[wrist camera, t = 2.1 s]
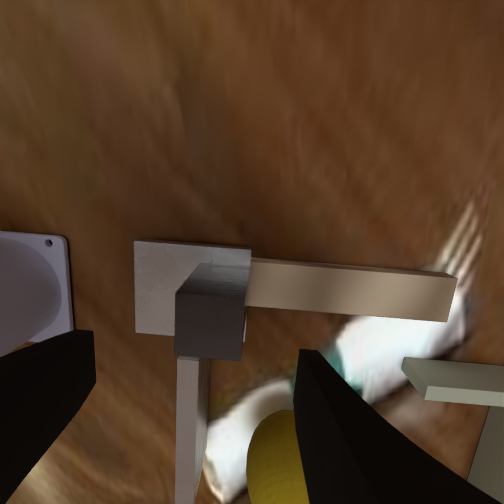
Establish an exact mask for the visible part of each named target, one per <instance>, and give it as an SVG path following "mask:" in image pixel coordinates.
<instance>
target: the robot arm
mask: <svg viewBox="0 0 504 504" xmlns="http://www.w3.org/2000/svg"><path fill="white" fill-rule="evenodd" d="M49 240H51V241H52V243H53V244H52V245H51V244H50V243H49ZM27 341H29V342H38V343H36V344H33V345H30V346H28V347H25V348H23V349H20V350H17V351H15V352H12V353H10V352H11V351H13V350H14V349H16V348H17V347H19V346H20V345H22V344H23V343H25V342H27ZM8 353H10V354H8ZM95 383H96V369H95V352H94V335H93V331H89V330H77V329H76V330H74V328H73V315H72V302H71V289H70V276H69V262H68V249H67V241H66V239H65V238H64V237H62V236H59V235H48V234H35V233H23V232H10V231H0V504H6V502H7V501H8V499H9V498H10V497H11V495H12V494H13V493H14V491H15V490H16V489H17V487H18V486H19V485H20V483H21V482H22V481H23V479H24V478H25V477H26V476H27V475H28V473H29V472H30V471H31V470H32V468H33V467H34V466H35V465H36V463H37V462H38V461H39V460H40V458H41V457H42V456H43V455H44V453H45V452H46V451H47V450H48V448H49V447H50V446H51V445H52V444H53V442H54V441H55V440H56V439H57V437H58V436H59V435H60V434H61V432H62V431H63V430H64V429H65V427H66V426H67V425H68V423H69V422H70V421H71V420H72V418H73V417H74V416H75V415H76V413H77V412H78V411H79V409H80V408H81V406H82V405H83V403H84V401H85V400H86V398H87V397H88V395H89V393H90V392H91V390H92V388H93V387H94V385H95ZM293 404H294V417H295V429H296V435H297V441H298V446H299V452H300V457H301V462H302V467H303V473H304V478H305V483H306V488H307V493H308V499H309V504H502V503H501V502H499V501H497V500H496V499H494V498H493V497H491V496H489V495H488V494H486V493H485V492H483V491H481V490H480V489H478V488H477V487H475V486H474V485H472V484H471V483H469V482H468V481H466V480H465V479H463V478H462V477H460V476H459V475H457V474H456V473H454V472H453V471H451V470H450V469H449V468H447V467H446V466H444V465H443V464H442V463H440V462H439V461H437V460H436V459H435V458H433V457H432V456H430V455H429V454H428V453H426V452H425V451H424V450H422V449H421V448H420V447H418V446H417V445H416V444H414V443H413V442H412V441H410V440H409V439H408V438H407V437H406V436H404V435H403V434H402V433H401V432H399V431H398V430H397V429H396V428H395V427H393V426H392V425H391V424H390V423H388V422H387V421H386V420H385V419H384V418H383V417H382V416H380V415H379V414H378V413H377V412H376V411H375V410H374V409H373V408H372V407H371V406H370V405H369V404H368V403H366V402H365V401H364V400H363V399H362V398H361V397H360V396H359V395H358V394H357V393H356V392H355V391H354V390H353V389H352V388H351V387H350V386H349V385H348V384H347V382H346V381H345V380H344V379H343V378H342V377H341V376H340V375H339V374H338V373H337V372H336V371H335V369H334V368H333V367H332V366H331V365H330V364H329V363H328V362H327V360H326V359H325V358H324V357H323V356H322V355H321V354H320V353H319V352H318V351H317V350H307V349H300V350H299V358H298V366H297V374H296V382H295V390H294V398H293Z"/></svg>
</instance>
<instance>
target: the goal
mask: <svg viewBox="0 0 504 504" xmlns="http://www.w3.org/2000/svg"><path fill="white" fill-rule="evenodd" d="M401 370H402V371H403V372H404V374H405V375H406V376H407V377H408V379H409V380H410V381H411V383H412V384H413V385H414V387H415V388H416V389H417V391H418V392H419V393H420V395H421V396H422V397H423V398H424V400H434V401H445V402H456V403H467V404H479V405H490V408H489V411H488V415H487V418H486V421H485V424H484V427H483V431H482V434H481V437H480V440H479V444H478V447H477V450H476V453H475V456H474V460H473V463H472V466H471V469H470V472H469V476H468V479H467V481H468V482H469V483H471V484H472V485H474V486H475V487H477V488H478V489H480V490H481V491H483V492H485V493H486V494H488V495H489V496H491V497H493V498H494V499H496V500H497V501H499V502H501V503H502V504H504V366H499V365H487V364H476V363H464V362H453V361H441V360H429V359H418V358H406V357H404V360H403V365H402V369H401Z"/></svg>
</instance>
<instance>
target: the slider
mask: <svg viewBox="0 0 504 504" xmlns="http://www.w3.org/2000/svg"><path fill="white" fill-rule="evenodd" d="M251 252H252V247H240V246H228V245H215V244H203V243H190V242H178V241H165V240H153V239H140V238H139V239H137V240H135V241H134V274H135V321H136V333H147V334H158V335H170V336H175V337H174V355H175V356H179V357H178V359H177V414H176V478H175V504H194V503H195V498H196V493H197V489H198V484H199V479H200V475H201V470H202V465H203V461H204V456H205V452H206V445H207V423H208V401H209V379H210V359H221V360H232V361H241V354H242V346H243V342H245V332H246V319H247V305H248V292H249V279H250V265H251Z"/></svg>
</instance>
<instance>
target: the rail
mask: <svg viewBox="0 0 504 504" xmlns="http://www.w3.org/2000/svg"><path fill="white" fill-rule="evenodd" d="M457 280H458V278H456V277H454V276H451V275H449V274H447V273H442V272H429V271H417V270H404V269H392V268H379V267H367V266H354V265H342V264H330V263H317V262H305V261H292V260H280V259H267V258H255V257H251V265H250V279H249V292H248V305H247V306H257V307H269V308H281V309H293V310H305V311H317V312H329V313H341V314H353V315H365V316H377V317H389V318H401V319H413V320H424V321H436V322H447V320H448V316H449V312H450V308H451V304H452V300H453V296H454V292H455V288H456V284H457Z"/></svg>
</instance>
